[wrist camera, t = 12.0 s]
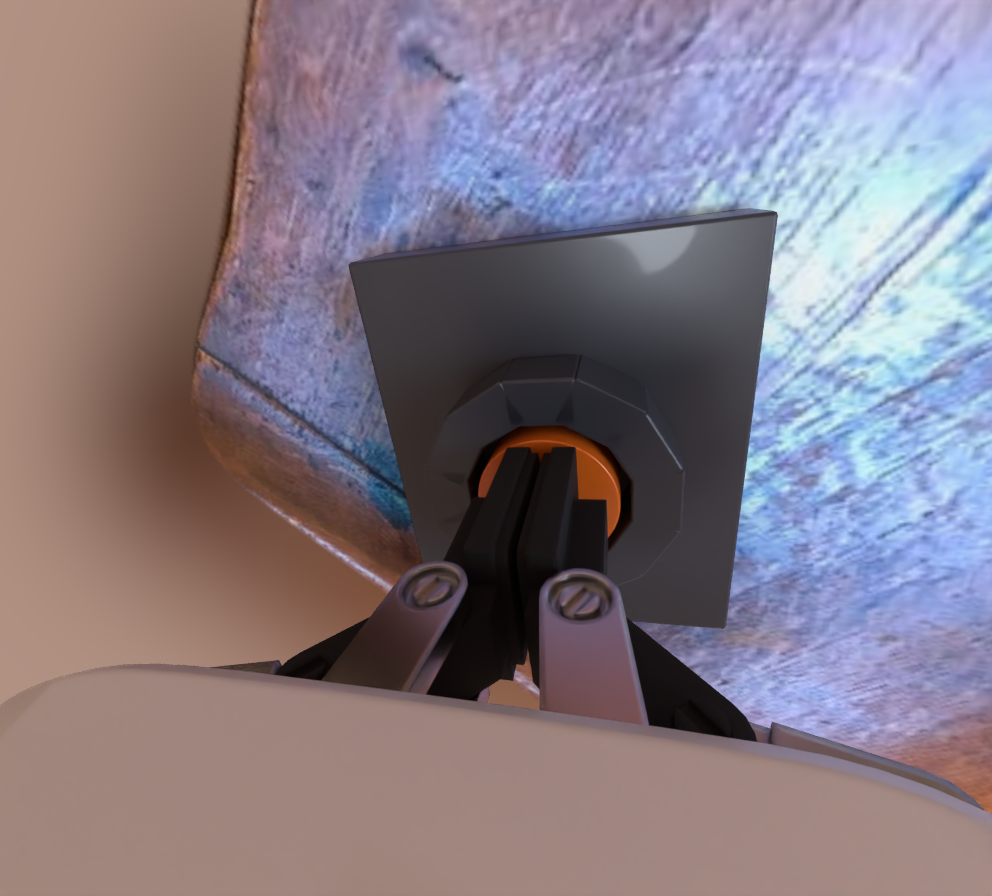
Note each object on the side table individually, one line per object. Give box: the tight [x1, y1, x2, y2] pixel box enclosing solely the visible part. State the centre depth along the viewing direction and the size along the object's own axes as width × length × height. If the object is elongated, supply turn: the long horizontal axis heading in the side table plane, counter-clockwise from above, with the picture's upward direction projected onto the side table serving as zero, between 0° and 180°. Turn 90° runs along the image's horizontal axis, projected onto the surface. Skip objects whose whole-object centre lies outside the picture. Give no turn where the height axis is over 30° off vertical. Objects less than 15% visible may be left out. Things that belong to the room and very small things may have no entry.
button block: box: [349, 208, 778, 629], centre depth 14 cm, size 12×10×4 cm
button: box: [478, 425, 621, 537], centre depth 13 cm, size 4×4×2 cm
